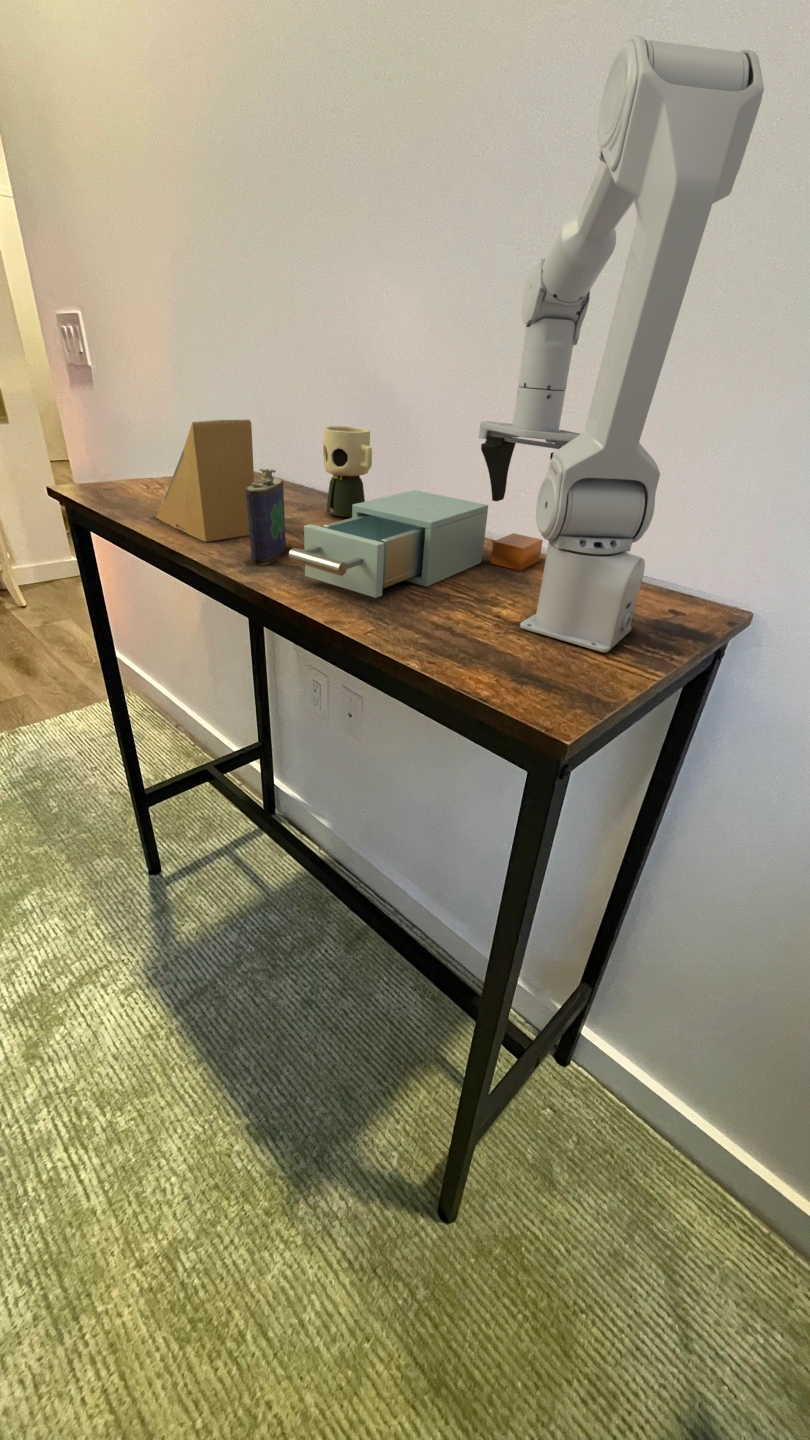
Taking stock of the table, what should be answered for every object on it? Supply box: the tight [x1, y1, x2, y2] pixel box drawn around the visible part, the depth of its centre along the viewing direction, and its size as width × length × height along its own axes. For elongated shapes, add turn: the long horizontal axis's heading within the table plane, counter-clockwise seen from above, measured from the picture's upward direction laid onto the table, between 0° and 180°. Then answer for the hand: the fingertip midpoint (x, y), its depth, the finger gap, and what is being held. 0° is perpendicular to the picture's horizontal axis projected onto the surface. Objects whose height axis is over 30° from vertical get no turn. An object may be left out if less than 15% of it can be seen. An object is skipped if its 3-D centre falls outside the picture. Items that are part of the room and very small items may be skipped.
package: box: [489, 532, 544, 572], centre depth 86 cm, size 4×6×3 cm
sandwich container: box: [155, 419, 255, 543], centre depth 89 cm, size 9×15×15 cm, turn 43°
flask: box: [246, 468, 287, 566], centre depth 80 cm, size 9×3×11 cm, turn 171°
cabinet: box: [352, 489, 489, 588], centre depth 81 cm, size 14×12×8 cm
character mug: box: [322, 425, 373, 518], centre depth 100 cm, size 11×7×13 cm, turn 46°
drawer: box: [288, 514, 426, 599], centre depth 73 cm, size 17×10×6 cm, turn 145°
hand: (523, 505), depth 83 cm, fingers open, 7 cm apart
